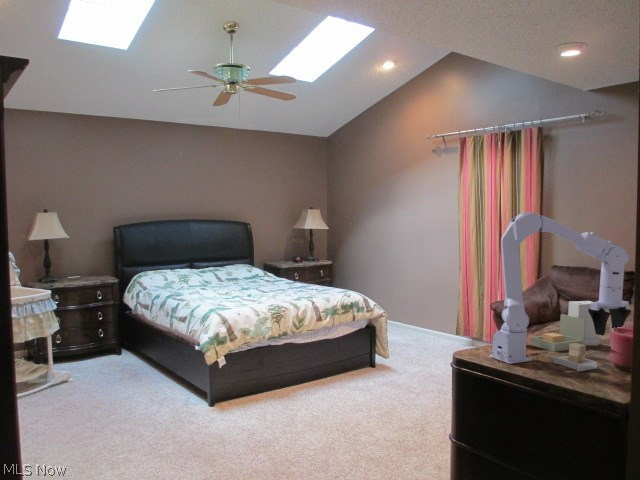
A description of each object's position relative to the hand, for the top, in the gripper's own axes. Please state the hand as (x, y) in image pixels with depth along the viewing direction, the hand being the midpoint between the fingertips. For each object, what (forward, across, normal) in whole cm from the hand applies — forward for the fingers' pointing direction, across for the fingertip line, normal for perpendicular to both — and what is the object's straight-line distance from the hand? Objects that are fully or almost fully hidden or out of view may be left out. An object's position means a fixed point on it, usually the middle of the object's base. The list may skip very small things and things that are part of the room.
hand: (608, 333), depth 143 cm
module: (+9, +4, +21) cm, 23 cm away
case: (+10, +6, +21) cm, 24 cm away
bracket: (+10, -8, +4) cm, 13 cm away
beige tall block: (+10, -8, +4) cm, 13 cm away
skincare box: (+10, +19, +21) cm, 30 cm away
